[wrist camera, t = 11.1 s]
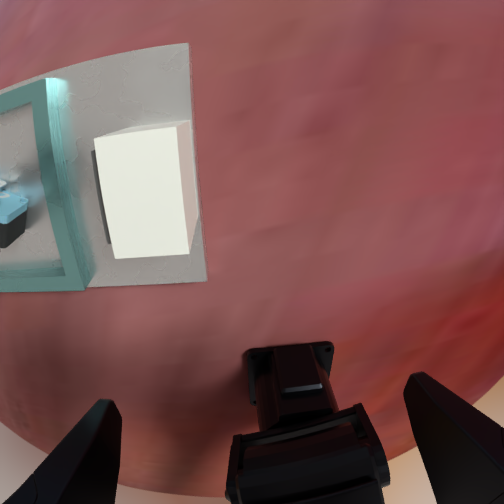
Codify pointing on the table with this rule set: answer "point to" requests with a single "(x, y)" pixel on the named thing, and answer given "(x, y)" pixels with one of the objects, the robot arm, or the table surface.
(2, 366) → the table surface
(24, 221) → the push button
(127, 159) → the white padded clamp jaws
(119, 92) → the teal-edged white tray
